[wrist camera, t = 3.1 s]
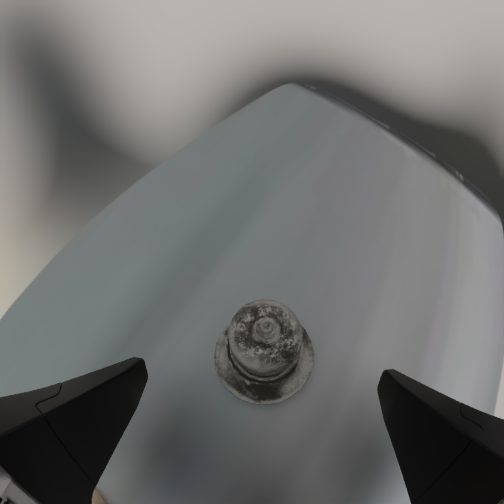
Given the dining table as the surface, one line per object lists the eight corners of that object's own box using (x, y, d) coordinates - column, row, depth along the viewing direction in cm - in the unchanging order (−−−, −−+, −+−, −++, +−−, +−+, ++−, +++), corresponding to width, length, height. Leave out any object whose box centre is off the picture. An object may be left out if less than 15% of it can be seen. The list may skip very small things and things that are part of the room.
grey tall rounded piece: (276, 307, 22) (290, 215, 11) (321, 372, 19) (389, 346, 9) (207, 348, 20) (147, 295, 10) (250, 417, 18) (234, 450, 7)
